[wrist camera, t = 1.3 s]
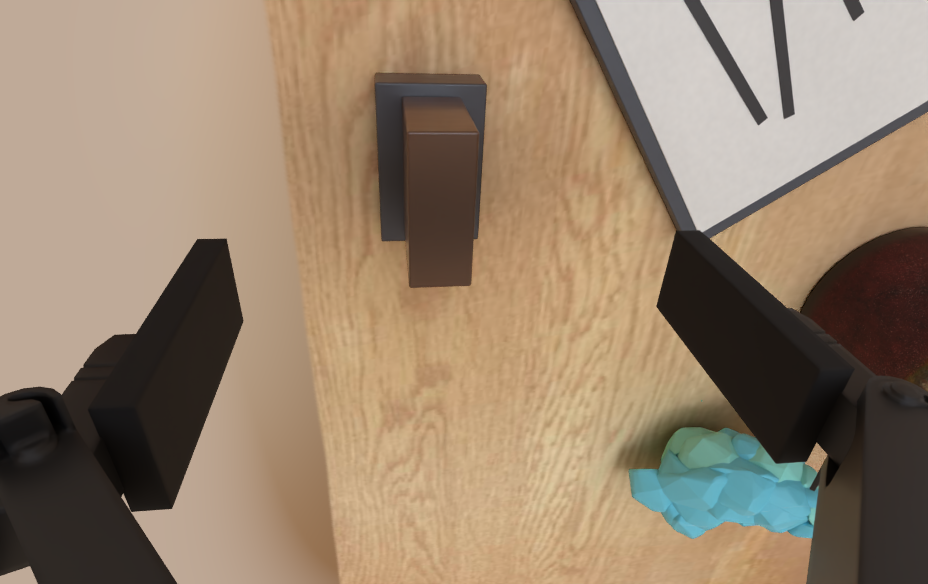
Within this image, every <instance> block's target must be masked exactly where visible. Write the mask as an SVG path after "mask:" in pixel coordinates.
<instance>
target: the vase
mask: <svg viewBox="0 0 928 584" xmlns="http://www.w3.org/2000/svg"><path fill="white" fill-rule="evenodd" d="M801 314H803V315H805V316H807V317H809V318H810V319H812V320H813V321H814V322H815V323H816V324H818V325H819V326H820V327H821V328H822V329H823V330H825V331H826V332H825V333H826V334H829V335H830V336H831V337H833V338H834V339H835V340H836V341H837V344H841V345H842V346H843V347H844V348H845V349H846V350H848V351H849V352H850V353H851V354H852V355H853V356H854V357H856V358H857V359H858V360H859V361H860V362H861V363H863V364H864V365H865V366H866V367H867V368H868V369H869V370H871V371H872V372H873V373H874V374H875V375H876V376H891V377H896V378H900V379H903V380H906V381H908V382H911V383H913V384H915V385H917V386H919V387H921V388H922V389H924V390H925V391H927V392H928V227H918V228H908V229H904V230H900V231H895V232H892V233H890V234H887V235H884V236H881V237H879V238H877V239H875V240H873V241H871V242H869V243H867V244H865V245H863V246H862V247H860V248H858V249H857V250H855V251H853V252H852V253H850V254H849V255H848V256H847V257H845V258H844V259H843V260H841V261H840V262H839V263H838V264H837V265H835V266H834V267H833V268H832V269H831V270H830V271H829V272H828V273H827V274H826V275H825V276H824V277H823V278H822V280H821V281H820V282H819V283H818V284H817V285H816V287H815V288H814V290H813V291H812V293H811V294H810V296H809V297H808V299H807V301H806V303H805V305H804V307H803V308H802V311H801Z"/></svg>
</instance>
